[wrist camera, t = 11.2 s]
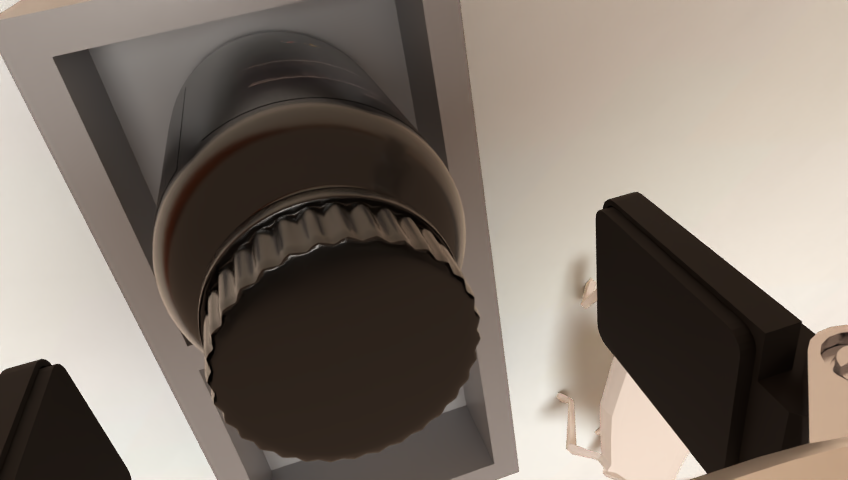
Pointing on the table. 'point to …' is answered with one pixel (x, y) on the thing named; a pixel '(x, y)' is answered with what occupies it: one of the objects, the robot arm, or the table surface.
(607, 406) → the origami figure
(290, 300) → the supplement bottle
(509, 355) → the table surface
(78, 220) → the table surface
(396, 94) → the divided tray
